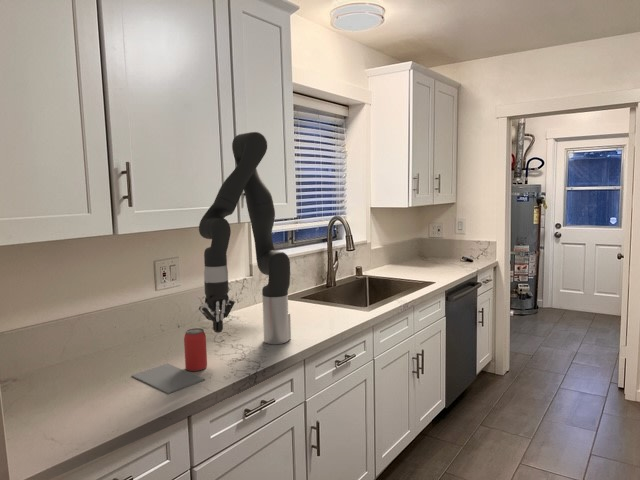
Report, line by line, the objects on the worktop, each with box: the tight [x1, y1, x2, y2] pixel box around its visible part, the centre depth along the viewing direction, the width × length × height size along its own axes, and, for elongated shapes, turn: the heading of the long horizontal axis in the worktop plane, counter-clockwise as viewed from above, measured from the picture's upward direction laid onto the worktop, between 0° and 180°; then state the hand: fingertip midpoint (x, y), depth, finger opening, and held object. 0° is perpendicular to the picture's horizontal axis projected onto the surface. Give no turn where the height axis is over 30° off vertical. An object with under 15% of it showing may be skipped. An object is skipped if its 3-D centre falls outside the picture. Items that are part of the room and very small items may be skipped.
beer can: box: [183, 327, 208, 372], centre depth 143 cm, size 7×7×12 cm
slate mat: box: [131, 363, 206, 395], centre depth 136 cm, size 12×20×1 cm, turn 50°
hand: (218, 331), depth 150 cm, fingers closed
